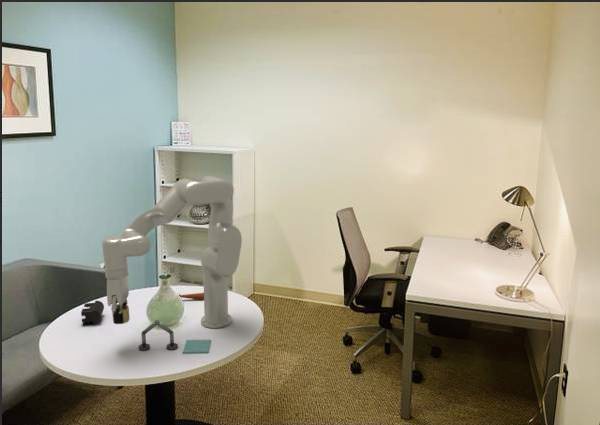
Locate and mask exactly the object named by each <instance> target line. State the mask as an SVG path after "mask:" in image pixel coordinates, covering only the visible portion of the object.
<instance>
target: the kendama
mask: <svg viewBox="0 0 600 425" xmlns="http://www.w3.org/2000/svg"><path fill="white" fill-rule="evenodd" d="M178 294H179V296H180V297H181V298H183V299H193V300H203V301H204V292H198V293H188V294H180V293H178Z"/></svg>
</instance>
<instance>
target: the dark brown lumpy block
mask: <svg viewBox="0 0 600 425" xmlns="http://www.w3.org/2000/svg"><path fill="white" fill-rule="evenodd" d="M83 307H84V308H82V309H81V311H80V312H81V313H80V315H81V317H85V318H81V322H82V326H83V327H87V326H89V327H90V326H95V325H96V324H98V323H99V322H100V320H101V318H102V315H103V312H104V310H105V306H104V303H103V302H102V301H100V300H95V301H94V302H87V303H86V302H85V303H84V305H83Z"/></svg>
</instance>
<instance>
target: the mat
mask: <svg viewBox="0 0 600 425" xmlns="http://www.w3.org/2000/svg"><path fill="white" fill-rule="evenodd" d="M211 342H212V340H211V339H186V341H185V344H184V347H183V350H182V354H183V355H184V354H185V355H186V354H189V355H190V354H209V351H210V346H211Z"/></svg>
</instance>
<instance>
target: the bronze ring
mask: <svg viewBox="0 0 600 425" xmlns="http://www.w3.org/2000/svg"><path fill="white" fill-rule="evenodd" d="M127 305H128V304H127ZM127 305H122V312H123V319H124V323H123V324H122V325H124V324H127V323H129V321H130V309H129V305H128V306H127ZM116 307H117V308H118V309H119V306H116ZM111 312H112V313H111V314H112V316H113V311H112V310H111ZM112 323H113V324H114V318H113V317H112Z"/></svg>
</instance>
